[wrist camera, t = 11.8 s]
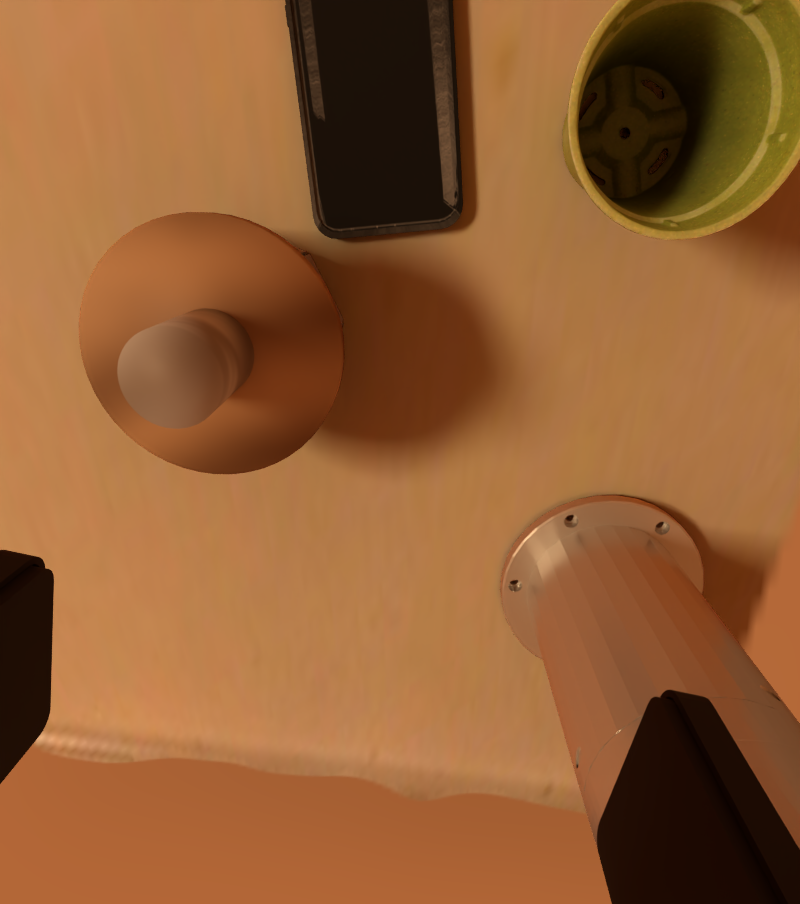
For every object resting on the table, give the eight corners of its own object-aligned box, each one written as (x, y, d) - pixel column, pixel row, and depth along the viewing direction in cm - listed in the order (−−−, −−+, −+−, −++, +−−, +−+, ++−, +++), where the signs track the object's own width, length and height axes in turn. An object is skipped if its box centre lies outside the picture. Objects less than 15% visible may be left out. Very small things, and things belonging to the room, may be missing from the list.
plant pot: (759, 97, 31) (882, 53, 23) (638, 268, 34) (709, 284, 25) (605, -18, 29) (678, -109, 21) (493, 172, 32) (519, 156, 24)
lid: (387, 404, 30) (380, 448, 25) (181, 500, 32) (129, 562, 27) (263, 161, 27) (220, 145, 21) (40, 287, 29) (-56, 304, 23)
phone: (445, -138, 27) (464, 226, 32) (444, -124, 28) (462, 226, 33) (267, -115, 28) (314, 240, 33) (273, -102, 29) (317, 240, 34)
